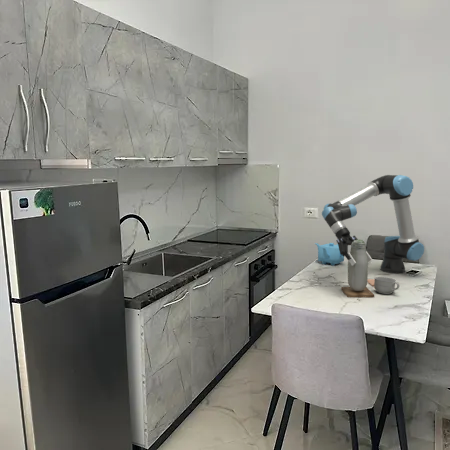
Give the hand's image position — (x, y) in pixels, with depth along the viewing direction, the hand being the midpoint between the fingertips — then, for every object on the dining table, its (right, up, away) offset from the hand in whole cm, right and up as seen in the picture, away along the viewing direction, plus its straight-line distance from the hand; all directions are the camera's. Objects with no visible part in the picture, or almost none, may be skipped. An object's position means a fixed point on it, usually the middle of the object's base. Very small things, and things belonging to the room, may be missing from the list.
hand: (362, 262), depth 220 cm
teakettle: (+1, -7, +73) cm, 74 cm away
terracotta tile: (+17, -14, +23) cm, 32 cm away
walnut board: (-1, -17, +4) cm, 18 cm away
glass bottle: (-1, -16, +4) cm, 16 cm away
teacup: (+15, -17, +5) cm, 23 cm away
